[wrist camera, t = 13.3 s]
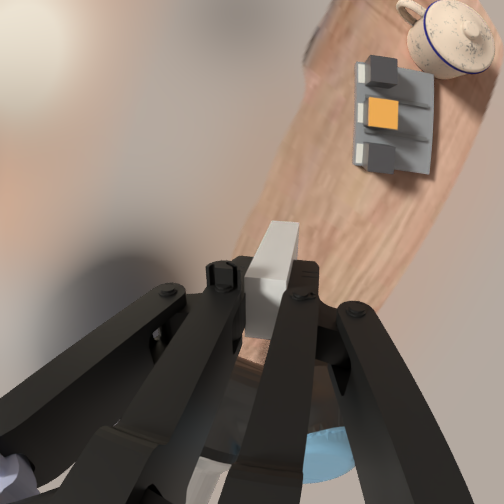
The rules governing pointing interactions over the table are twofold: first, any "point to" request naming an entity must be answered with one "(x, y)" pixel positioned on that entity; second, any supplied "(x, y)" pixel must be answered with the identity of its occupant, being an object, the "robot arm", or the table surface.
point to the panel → (409, 117)
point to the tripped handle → (380, 113)
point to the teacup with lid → (448, 38)
